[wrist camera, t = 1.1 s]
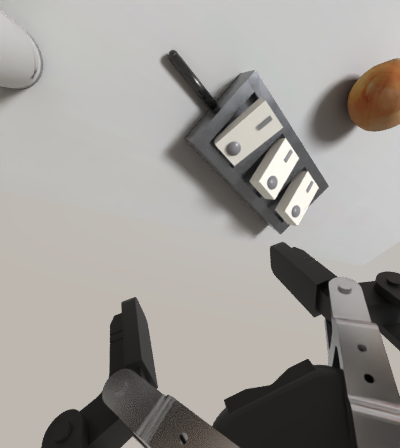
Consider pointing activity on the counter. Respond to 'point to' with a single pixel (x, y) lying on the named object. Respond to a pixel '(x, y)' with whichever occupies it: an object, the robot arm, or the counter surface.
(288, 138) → the power strip
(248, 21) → the counter surface
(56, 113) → the counter surface
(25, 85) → the travel mug
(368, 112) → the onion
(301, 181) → the rocker
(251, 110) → the rocker
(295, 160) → the rocker middle
